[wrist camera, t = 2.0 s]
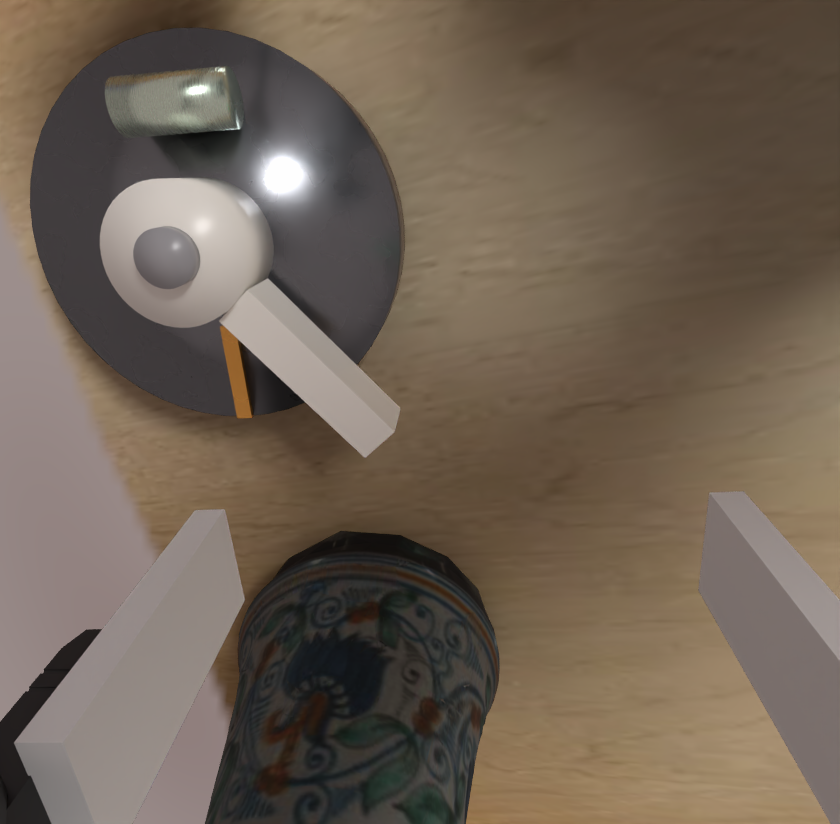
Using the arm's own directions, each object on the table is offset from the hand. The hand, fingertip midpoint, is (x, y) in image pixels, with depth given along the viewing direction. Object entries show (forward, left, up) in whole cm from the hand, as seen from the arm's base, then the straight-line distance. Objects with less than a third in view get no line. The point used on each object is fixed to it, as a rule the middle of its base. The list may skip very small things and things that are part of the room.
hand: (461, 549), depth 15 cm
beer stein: (+22, -7, -20) cm, 30 cm away
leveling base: (-6, -12, -20) cm, 24 cm away
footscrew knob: (-3, -9, -17) cm, 19 cm away
